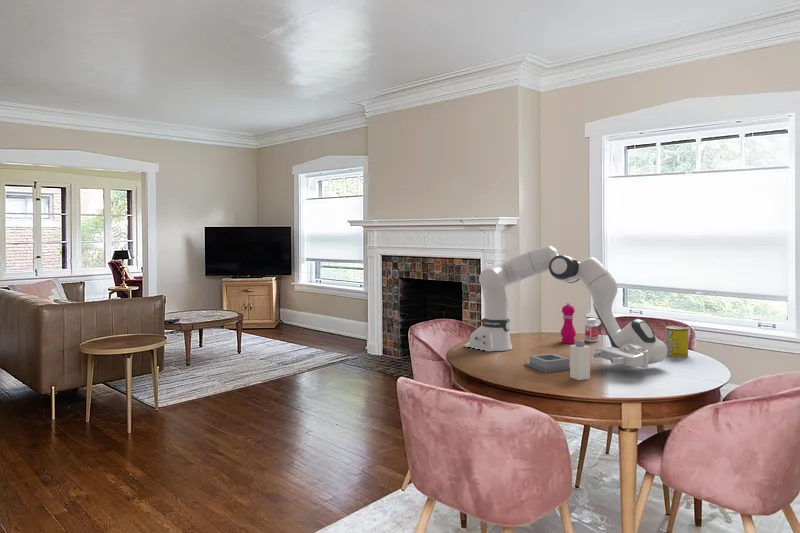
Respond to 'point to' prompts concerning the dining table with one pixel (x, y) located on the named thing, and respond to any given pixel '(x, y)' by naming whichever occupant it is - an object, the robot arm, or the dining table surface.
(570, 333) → the pepper mill
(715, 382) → the dining table surface
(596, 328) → the pill bottle
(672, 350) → the yellow tin can
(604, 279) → the robot arm
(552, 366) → the socket dock
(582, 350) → the spigot peg
